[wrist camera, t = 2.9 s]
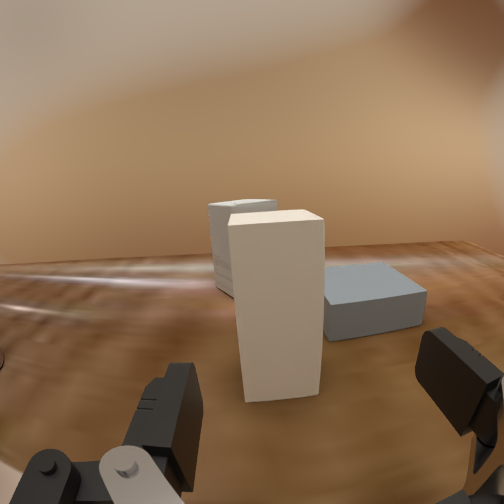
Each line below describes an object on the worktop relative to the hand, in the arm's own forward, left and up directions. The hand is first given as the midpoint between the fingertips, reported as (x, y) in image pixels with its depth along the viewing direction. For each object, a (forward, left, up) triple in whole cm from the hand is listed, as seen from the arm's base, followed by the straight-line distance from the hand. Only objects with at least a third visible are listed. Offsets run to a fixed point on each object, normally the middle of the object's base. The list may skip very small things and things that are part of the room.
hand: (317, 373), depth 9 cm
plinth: (+11, +21, -9) cm, 26 cm away
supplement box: (-2, +32, -10) cm, 34 cm away
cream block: (0, +11, -9) cm, 15 cm away
